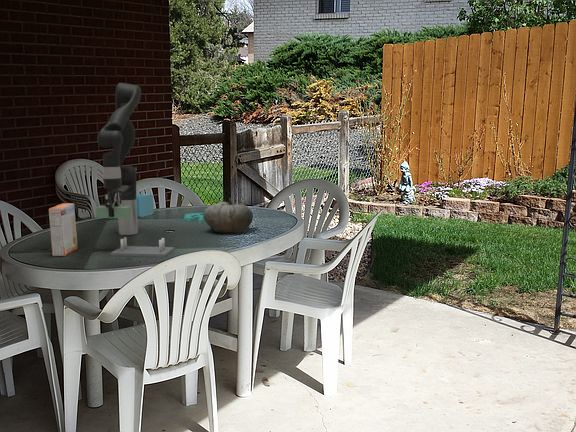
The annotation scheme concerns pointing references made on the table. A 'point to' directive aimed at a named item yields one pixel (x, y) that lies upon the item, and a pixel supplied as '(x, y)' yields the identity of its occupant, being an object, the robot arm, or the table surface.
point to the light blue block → (144, 205)
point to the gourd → (228, 217)
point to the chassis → (142, 250)
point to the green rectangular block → (118, 212)
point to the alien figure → (194, 217)
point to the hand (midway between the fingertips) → (114, 215)
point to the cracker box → (63, 229)
